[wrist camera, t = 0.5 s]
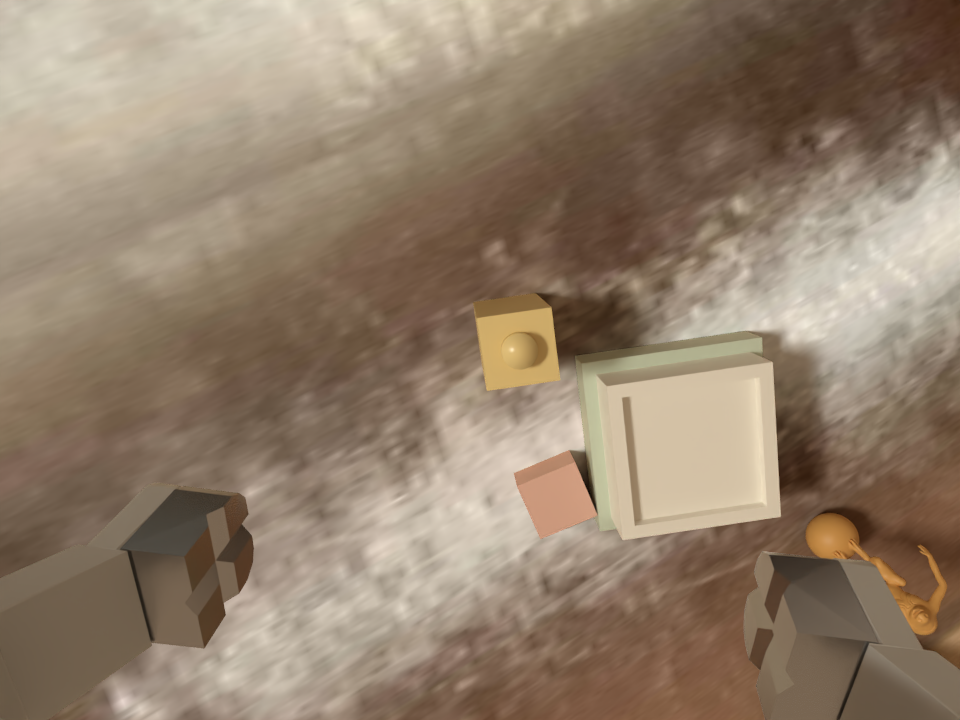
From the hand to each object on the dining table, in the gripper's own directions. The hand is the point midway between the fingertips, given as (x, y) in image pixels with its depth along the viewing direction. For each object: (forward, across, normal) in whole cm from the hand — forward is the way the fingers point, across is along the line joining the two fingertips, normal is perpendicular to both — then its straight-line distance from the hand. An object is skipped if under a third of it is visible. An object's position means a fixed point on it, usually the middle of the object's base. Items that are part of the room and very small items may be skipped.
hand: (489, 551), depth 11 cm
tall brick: (+41, +3, +13) cm, 43 cm away
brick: (+39, -1, +27) cm, 47 cm away
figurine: (+42, -25, +31) cm, 58 cm away
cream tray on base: (+41, -10, +21) cm, 48 cm away
